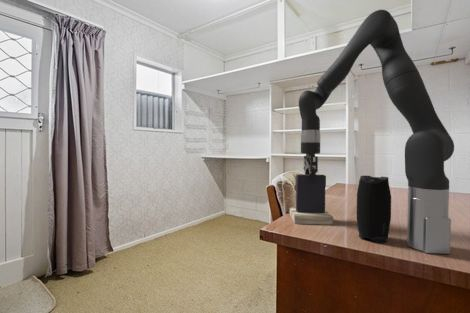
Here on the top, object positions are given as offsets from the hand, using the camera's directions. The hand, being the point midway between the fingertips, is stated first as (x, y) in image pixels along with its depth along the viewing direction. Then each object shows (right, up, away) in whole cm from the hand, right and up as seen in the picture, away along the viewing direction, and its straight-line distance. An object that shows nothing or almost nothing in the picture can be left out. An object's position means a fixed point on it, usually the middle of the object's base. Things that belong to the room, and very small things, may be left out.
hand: (310, 182), depth 99 cm
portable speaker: (+13, -16, -22) cm, 30 cm away
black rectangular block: (0, -12, 0) cm, 12 cm away
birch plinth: (0, -15, 0) cm, 15 cm away
